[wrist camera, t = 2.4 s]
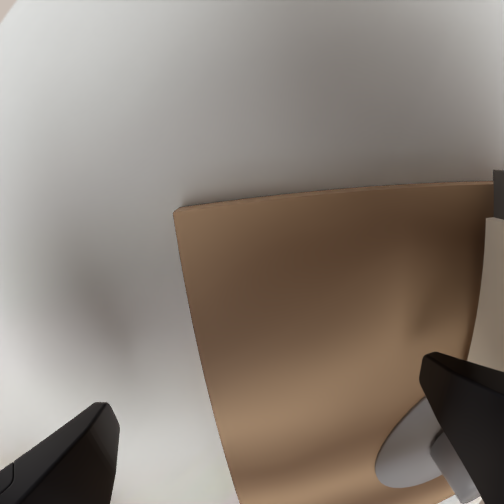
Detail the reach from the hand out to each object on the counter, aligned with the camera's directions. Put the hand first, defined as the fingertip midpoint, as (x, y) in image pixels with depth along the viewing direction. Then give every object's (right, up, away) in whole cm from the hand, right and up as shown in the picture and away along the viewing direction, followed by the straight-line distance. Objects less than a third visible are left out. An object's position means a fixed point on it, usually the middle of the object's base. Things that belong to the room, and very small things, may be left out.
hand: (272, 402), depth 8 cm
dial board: (+8, -3, +4) cm, 10 cm away
